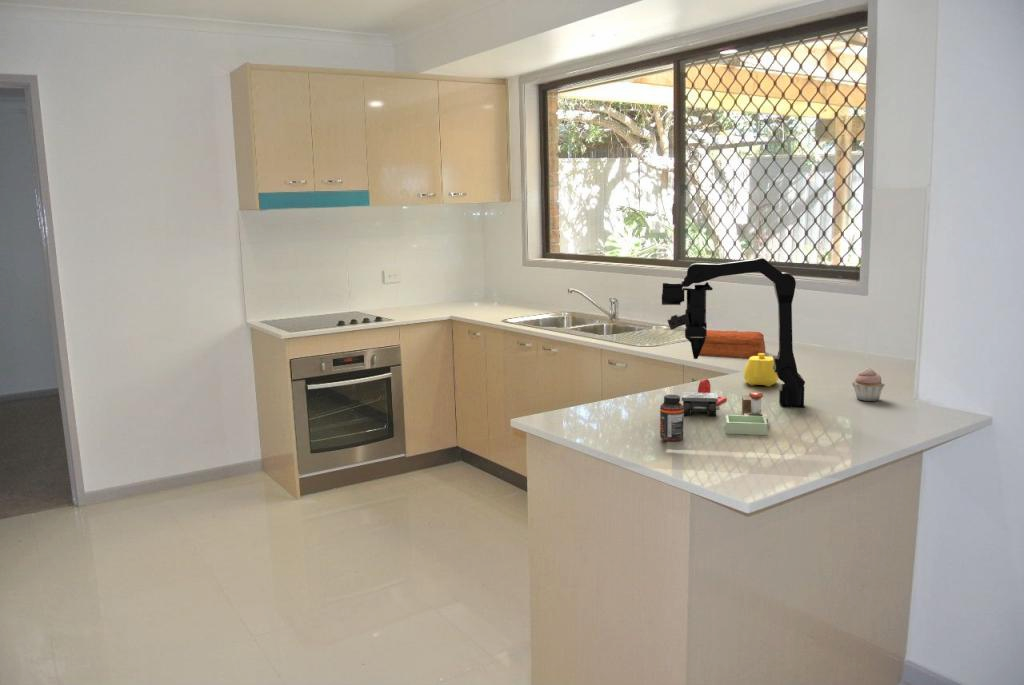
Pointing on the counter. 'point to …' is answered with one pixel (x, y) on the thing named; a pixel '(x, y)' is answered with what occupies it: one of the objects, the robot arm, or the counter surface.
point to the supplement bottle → (671, 419)
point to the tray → (746, 424)
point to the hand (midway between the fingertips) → (695, 356)
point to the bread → (733, 344)
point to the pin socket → (761, 415)
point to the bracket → (708, 390)
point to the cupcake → (868, 385)
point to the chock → (746, 404)
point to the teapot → (760, 371)
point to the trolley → (700, 402)
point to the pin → (756, 403)
